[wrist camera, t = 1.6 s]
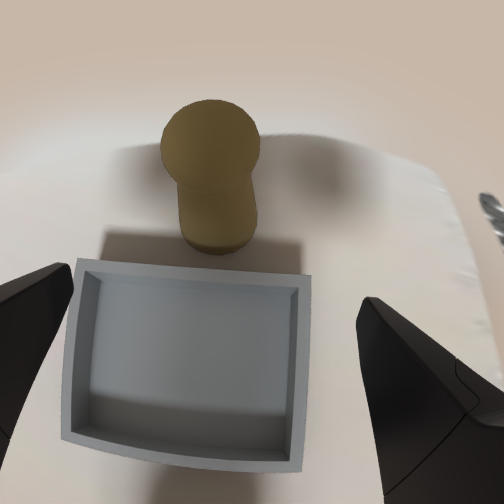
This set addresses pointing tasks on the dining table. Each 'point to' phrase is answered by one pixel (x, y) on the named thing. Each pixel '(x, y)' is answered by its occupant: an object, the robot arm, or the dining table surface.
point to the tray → (188, 365)
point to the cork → (213, 173)
